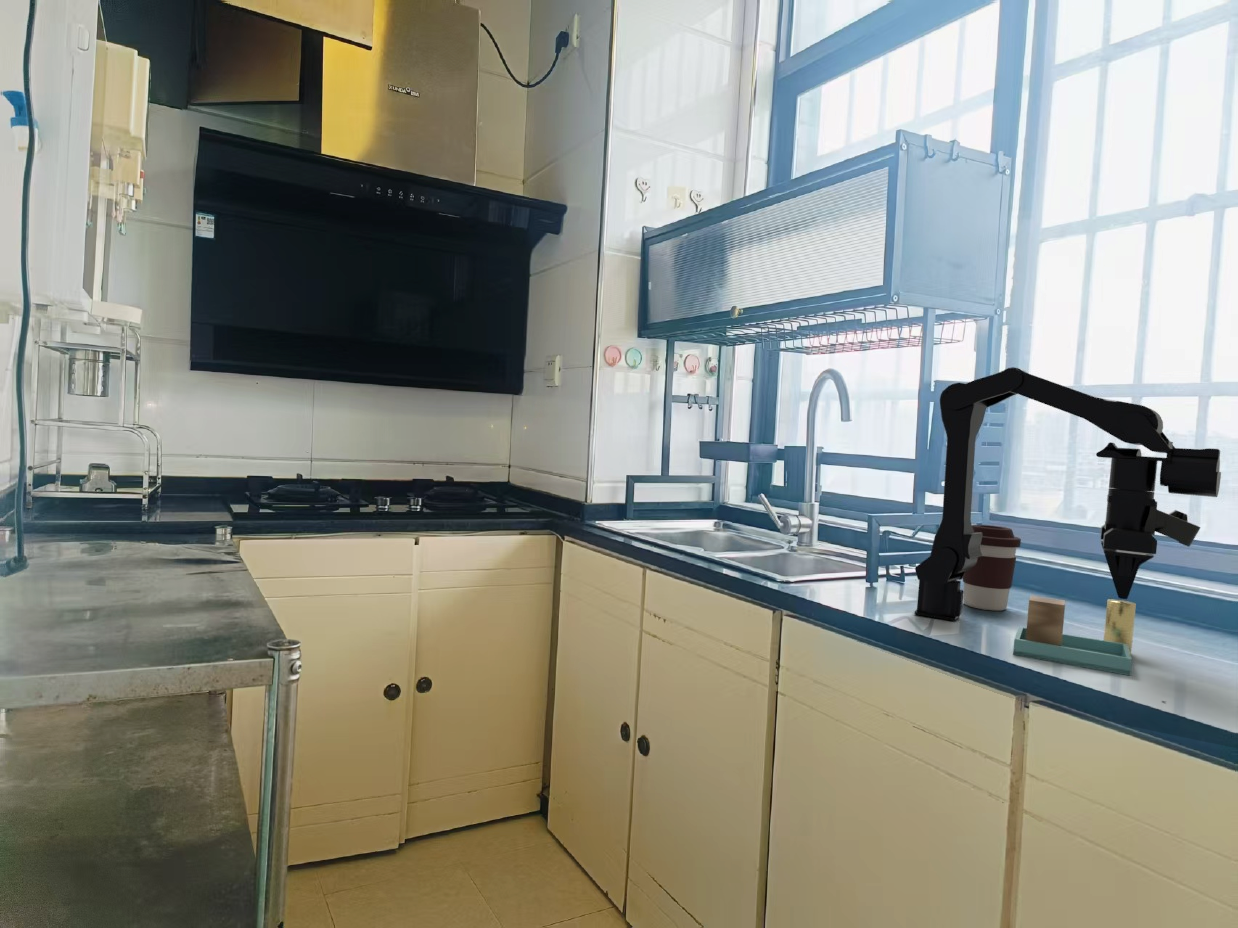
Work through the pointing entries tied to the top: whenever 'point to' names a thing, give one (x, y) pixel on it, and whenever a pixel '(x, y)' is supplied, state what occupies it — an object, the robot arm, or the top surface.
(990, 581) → the coffee cup
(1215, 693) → the top surface
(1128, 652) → the parts tray
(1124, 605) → the brass peg
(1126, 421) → the robot arm
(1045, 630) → the walnut block
